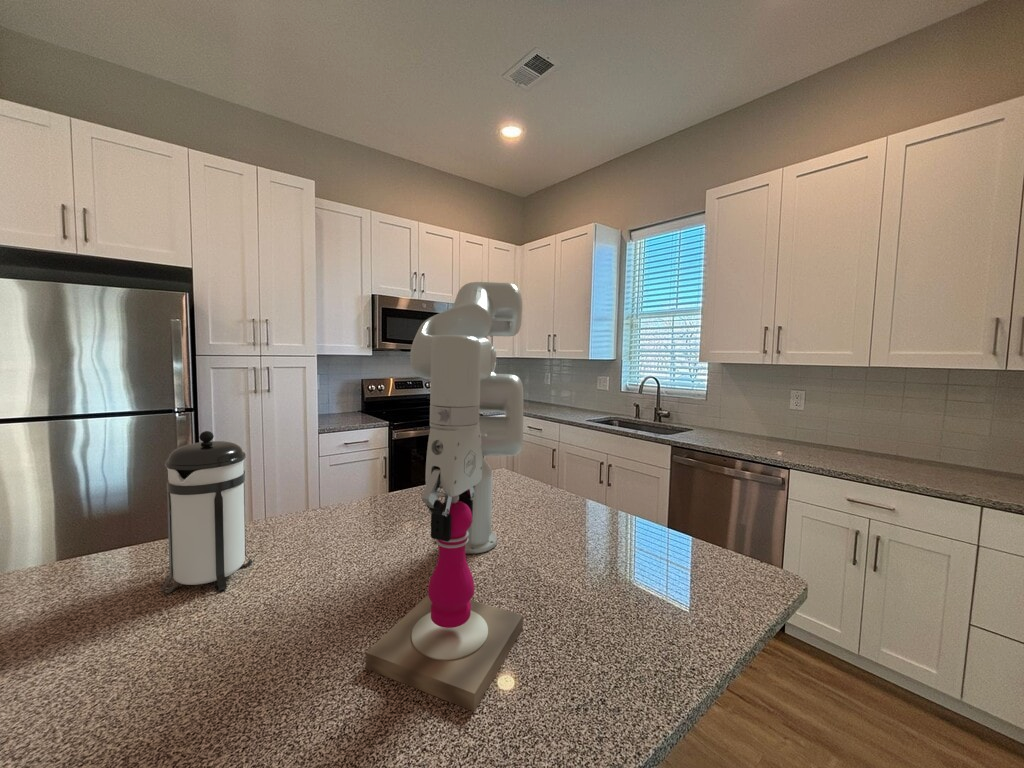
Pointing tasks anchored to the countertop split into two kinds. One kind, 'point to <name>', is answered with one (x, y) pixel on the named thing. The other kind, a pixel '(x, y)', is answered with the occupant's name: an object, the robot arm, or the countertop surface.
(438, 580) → the pepper mill
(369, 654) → the walnut stand
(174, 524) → the coffee press
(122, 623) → the countertop surface
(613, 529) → the countertop surface
